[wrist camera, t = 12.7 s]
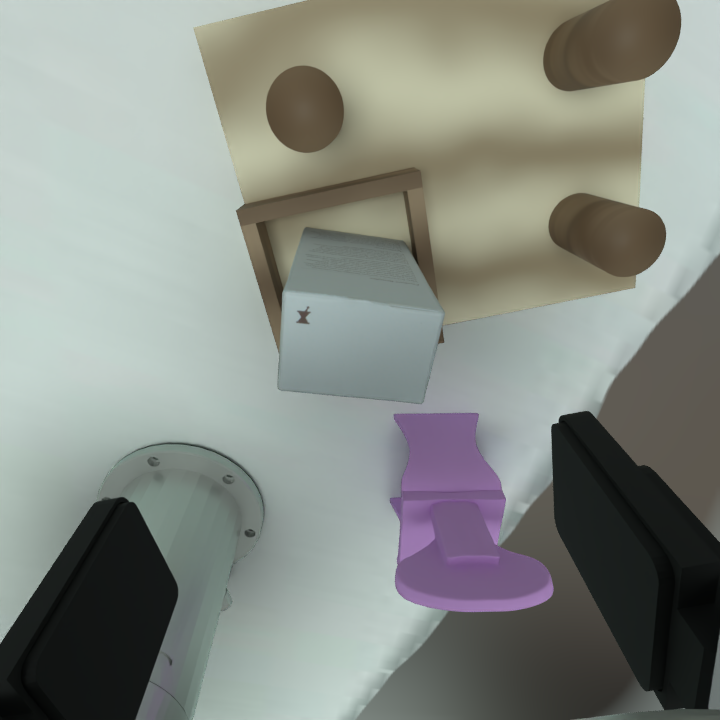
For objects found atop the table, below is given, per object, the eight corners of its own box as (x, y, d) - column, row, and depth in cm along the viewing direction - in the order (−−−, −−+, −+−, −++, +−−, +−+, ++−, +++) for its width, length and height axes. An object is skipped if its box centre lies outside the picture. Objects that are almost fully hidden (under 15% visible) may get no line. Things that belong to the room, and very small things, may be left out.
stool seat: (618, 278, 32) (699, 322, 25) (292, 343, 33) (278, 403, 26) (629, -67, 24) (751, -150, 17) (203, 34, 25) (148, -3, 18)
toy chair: (377, 506, 40) (395, 702, 26) (380, 413, 36) (402, 587, 22) (478, 504, 40) (547, 698, 26) (491, 412, 36) (581, 583, 23)
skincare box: (297, 296, 30) (271, 392, 19) (304, 225, 28) (279, 286, 17) (395, 308, 30) (425, 409, 19) (408, 239, 28) (448, 307, 18)
